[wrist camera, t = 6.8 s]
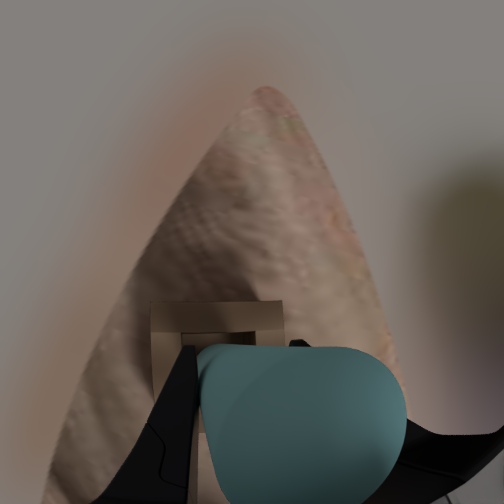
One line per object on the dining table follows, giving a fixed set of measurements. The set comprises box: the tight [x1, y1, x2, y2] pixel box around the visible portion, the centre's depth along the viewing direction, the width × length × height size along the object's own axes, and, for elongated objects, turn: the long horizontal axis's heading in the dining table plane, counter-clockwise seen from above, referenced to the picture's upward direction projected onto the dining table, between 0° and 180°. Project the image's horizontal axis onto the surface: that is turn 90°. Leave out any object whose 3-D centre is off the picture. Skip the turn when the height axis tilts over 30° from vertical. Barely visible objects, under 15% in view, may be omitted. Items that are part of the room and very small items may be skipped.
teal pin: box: [197, 343, 407, 504], centre depth 9 cm, size 3×3×13 cm
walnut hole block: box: [150, 300, 285, 433], centre depth 18 cm, size 8×8×4 cm
